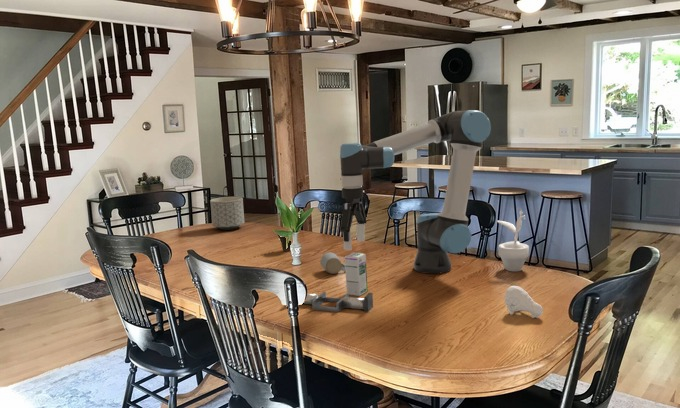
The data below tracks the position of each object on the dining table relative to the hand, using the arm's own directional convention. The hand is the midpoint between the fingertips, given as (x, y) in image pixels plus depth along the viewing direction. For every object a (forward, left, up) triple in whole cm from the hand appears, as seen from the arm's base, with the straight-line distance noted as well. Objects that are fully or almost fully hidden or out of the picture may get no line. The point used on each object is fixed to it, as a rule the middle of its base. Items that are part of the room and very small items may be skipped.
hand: (354, 245), depth 193 cm
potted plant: (-51, -42, -18) cm, 69 cm away
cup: (+55, -51, -18) cm, 77 cm away
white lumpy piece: (-59, +7, -18) cm, 62 cm away
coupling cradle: (+4, +15, -18) cm, 24 cm away
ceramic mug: (+18, -24, -18) cm, 35 cm away
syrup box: (0, 0, -18) cm, 18 cm away
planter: (+116, -92, -18) cm, 149 cm away
